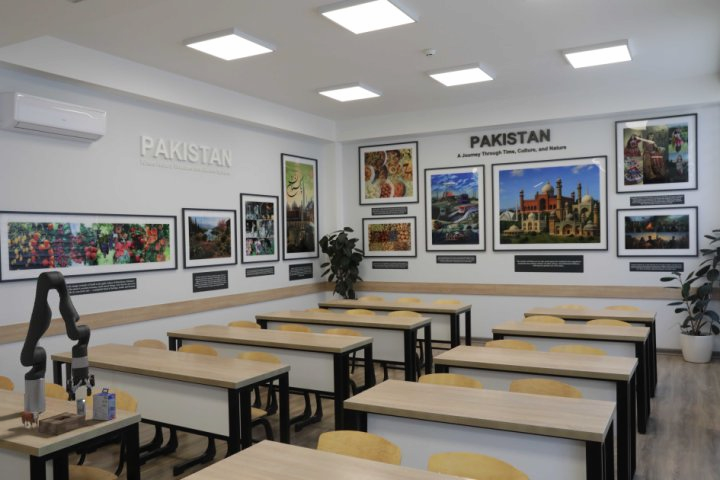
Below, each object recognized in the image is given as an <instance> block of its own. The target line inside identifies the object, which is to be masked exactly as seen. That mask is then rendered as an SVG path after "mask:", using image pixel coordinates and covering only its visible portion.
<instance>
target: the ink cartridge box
mask: <svg viewBox="0 0 720 480" xmlns="http://www.w3.org/2000/svg"><path fill="white" fill-rule="evenodd" d="M105 390H106V391H105ZM109 391H110V388H105V387H104V388H103V389H102V390H101V392H97V393H94V394H93V395H92V420H99V421H101V420H102V421H107V422H108V421H110V420H113V419H116V418H117V417H116V416H117V414H116V413H117V412H116V409H117V407H116V405H117V404H116V395H117V394H116V392H115V393H114V392H109Z"/></svg>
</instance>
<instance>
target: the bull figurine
mask: <svg viewBox="0 0 720 480" xmlns="http://www.w3.org/2000/svg"><path fill="white" fill-rule="evenodd" d="M41 414H42V412H39V413H38V412H28V411H24V410H23V411H22V412H21V413H20V415H21V416H20V418H21V424H23V428H27V426H29V425H30V427H29V428H30V429H33V424H35V426H36V428H37V429H39V415H41Z"/></svg>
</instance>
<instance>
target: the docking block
mask: <svg viewBox="0 0 720 480" xmlns="http://www.w3.org/2000/svg"><path fill="white" fill-rule="evenodd" d="M86 424H87V423H86V418H85V416H84V415H79V414H77V413H72V412H67V411H66V412H63V413H59V414H56V415H51V416H49V417H45V418H43V419H38V426H39V427H38V432H40V433H46V434H49V435H54V436H61V435H64V434H67V433H70V432H73V431H75V430H78V429H82V428H85V427H87V426H86Z"/></svg>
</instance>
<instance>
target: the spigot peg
mask: <svg viewBox="0 0 720 480" xmlns="http://www.w3.org/2000/svg"><path fill="white" fill-rule="evenodd" d="M75 401H76V414H79V415H84V416H85V418H86V417H87V415H86V414H87V412H86V410H87V409H86V398H79V399H76V400H75Z"/></svg>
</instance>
